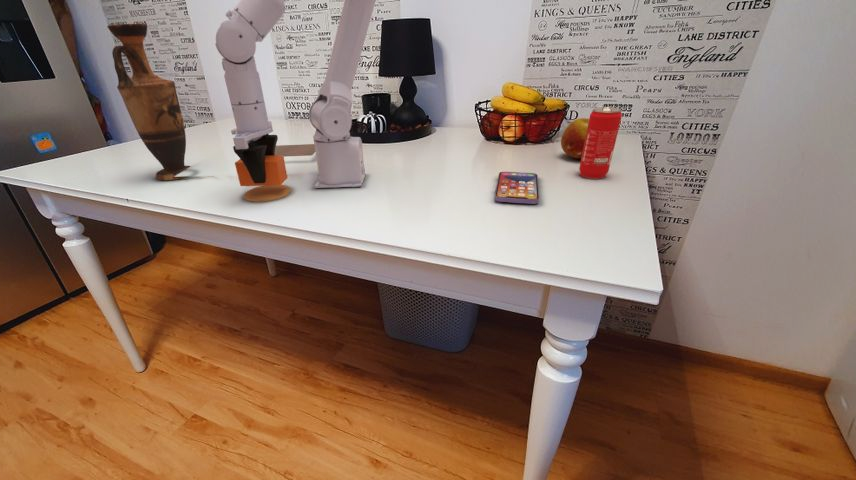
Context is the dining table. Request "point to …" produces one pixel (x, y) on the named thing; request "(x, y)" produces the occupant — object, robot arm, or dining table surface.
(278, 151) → the bread board
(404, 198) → the dining table surface
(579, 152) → the fruit
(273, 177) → the snack box
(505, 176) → the smartphone
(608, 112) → the beverage can
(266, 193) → the cork coaster
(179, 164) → the vase
